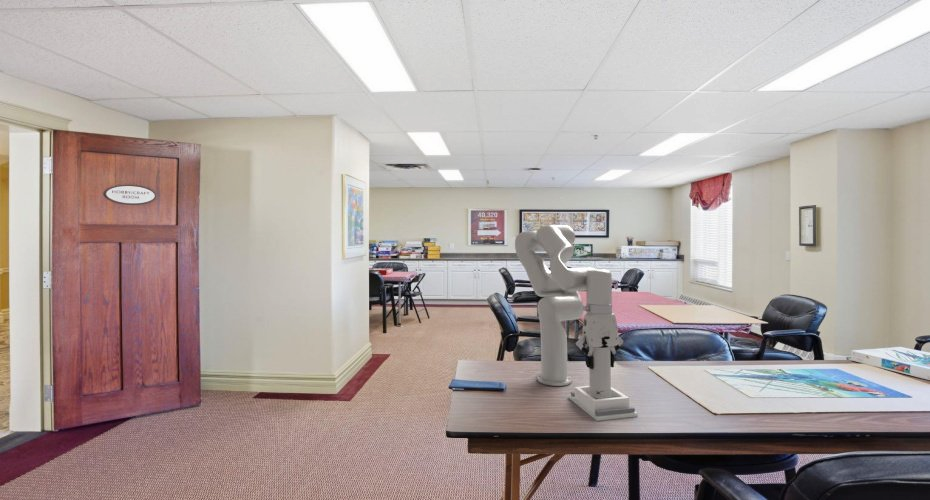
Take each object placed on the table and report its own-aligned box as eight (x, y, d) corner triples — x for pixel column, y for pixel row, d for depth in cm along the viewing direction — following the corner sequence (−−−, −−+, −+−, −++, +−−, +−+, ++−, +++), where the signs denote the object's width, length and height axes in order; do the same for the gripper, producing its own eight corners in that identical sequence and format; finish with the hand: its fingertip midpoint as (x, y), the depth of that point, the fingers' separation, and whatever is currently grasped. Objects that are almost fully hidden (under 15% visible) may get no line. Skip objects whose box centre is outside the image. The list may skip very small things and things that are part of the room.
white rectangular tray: (568, 397, 133) (568, 384, 133) (604, 394, 135) (604, 381, 135) (596, 420, 115) (596, 405, 115) (637, 416, 118) (637, 400, 117)
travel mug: (601, 404, 121) (600, 338, 121) (585, 397, 127) (584, 333, 126) (616, 400, 124) (615, 335, 123) (600, 393, 130) (599, 331, 129)
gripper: (579, 312, 120) (580, 372, 120) (631, 309, 123) (632, 368, 123) (568, 308, 127) (568, 365, 127) (617, 306, 130) (618, 361, 130)
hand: (600, 366), depth 125 cm, fingers closed on travel mug, 6 cm apart
